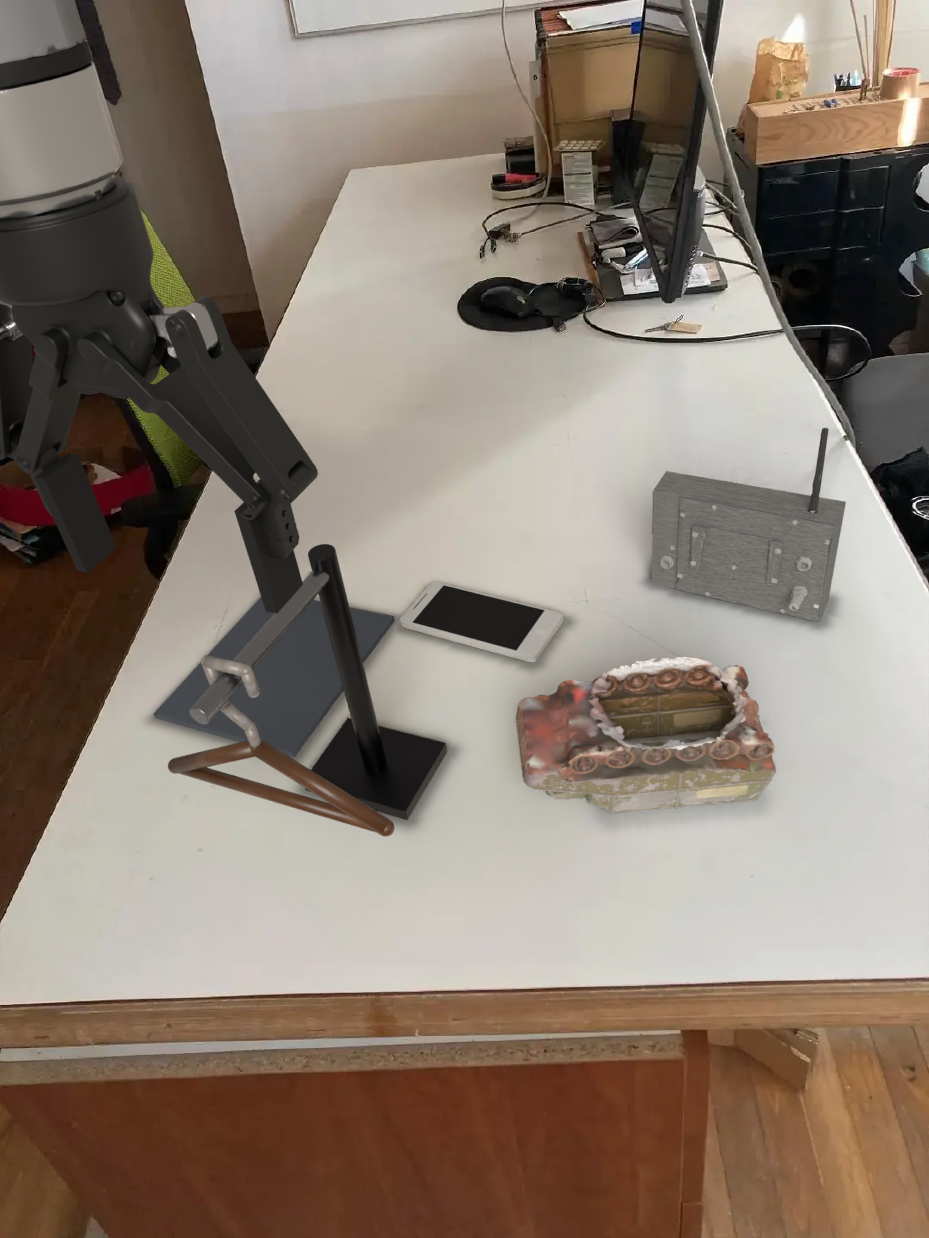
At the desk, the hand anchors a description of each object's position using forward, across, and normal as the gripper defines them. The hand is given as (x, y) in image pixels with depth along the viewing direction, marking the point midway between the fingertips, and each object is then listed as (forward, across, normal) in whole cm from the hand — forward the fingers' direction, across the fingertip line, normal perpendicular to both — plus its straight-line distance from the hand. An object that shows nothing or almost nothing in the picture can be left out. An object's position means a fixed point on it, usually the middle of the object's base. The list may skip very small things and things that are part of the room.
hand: (186, 578), depth 54 cm
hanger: (+20, 0, 0) cm, 20 cm away
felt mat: (+30, +16, -21) cm, 40 cm away
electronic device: (+30, -24, -44) cm, 59 cm away
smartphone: (+30, -1, -33) cm, 45 cm away
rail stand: (+30, 0, -7) cm, 31 cm away
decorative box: (+30, -23, -17) cm, 41 cm away
